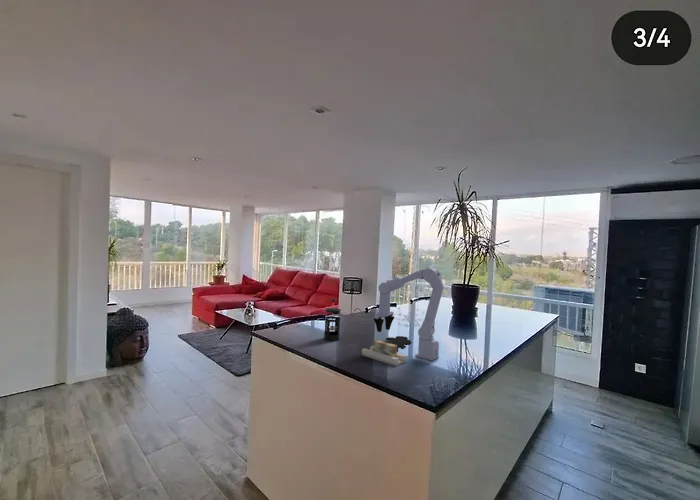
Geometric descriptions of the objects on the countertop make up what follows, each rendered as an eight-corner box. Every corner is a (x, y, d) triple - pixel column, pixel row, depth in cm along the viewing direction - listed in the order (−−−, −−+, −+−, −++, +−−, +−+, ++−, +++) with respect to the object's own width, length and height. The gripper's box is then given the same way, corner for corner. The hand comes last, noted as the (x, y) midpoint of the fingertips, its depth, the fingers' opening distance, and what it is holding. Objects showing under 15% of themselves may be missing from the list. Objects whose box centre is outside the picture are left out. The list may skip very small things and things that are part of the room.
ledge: (406, 361, 153) (406, 355, 153) (396, 366, 147) (396, 359, 147) (372, 351, 166) (372, 345, 166) (361, 355, 160) (362, 349, 160)
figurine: (395, 353, 166) (418, 341, 191) (395, 351, 166) (418, 339, 191) (369, 346, 175) (394, 336, 200) (369, 345, 175) (394, 334, 200)
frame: (396, 359, 153) (397, 345, 153) (392, 360, 151) (393, 346, 151) (376, 352, 161) (376, 339, 161) (372, 354, 159) (373, 340, 159)
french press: (333, 342, 179) (335, 300, 179) (319, 339, 184) (321, 298, 184) (344, 337, 190) (346, 298, 190) (330, 335, 194) (332, 296, 194)
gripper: (386, 302, 181) (385, 327, 181) (370, 305, 170) (369, 331, 170) (397, 304, 176) (396, 329, 176) (381, 307, 165) (379, 333, 165)
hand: (383, 330), depth 173 cm, fingers open, 7 cm apart
